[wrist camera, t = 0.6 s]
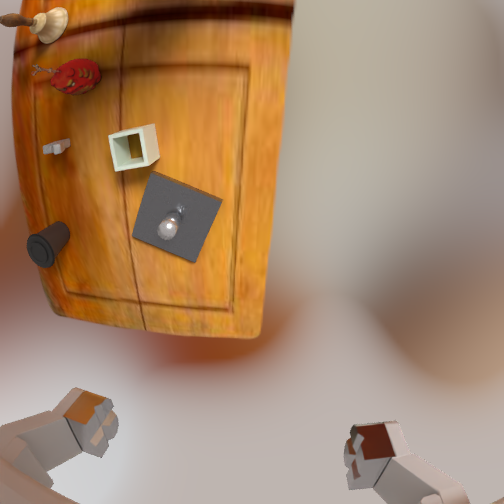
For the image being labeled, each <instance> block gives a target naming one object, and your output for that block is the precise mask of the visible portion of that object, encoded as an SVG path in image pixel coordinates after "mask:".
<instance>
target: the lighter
mask: <svg viewBox="0 0 504 504" xmlns="http://www.w3.org/2000/svg"><path fill="white" fill-rule="evenodd" d="M70 146H71V145H70V139H69V138H68V139H63V140H59V141H55V142H52V143H50V144H47V145H44V146H43V152H44V154H48V153H53V152H54V154H59V153H62V152H63V151H64V150H65V148H68V147H70Z"/></svg>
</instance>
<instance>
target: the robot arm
mask: <svg viewBox="0 0 504 504" xmlns="http://www.w3.org/2000/svg"><path fill="white" fill-rule="evenodd" d="M113 407H114V406H113V403H112V400H111V399H109V398H106V397H103V396H100V395H97V394H94V393H91V392H88V391H85V390H82V389H79V388H73V389H72V390H71V391H70V392H69V393H68V394H67V395H66V396H65V397H64V398H63V400H62V401H61V402H60V403H59V404H58V405H57V406H56V407H55V409H53V411H52V412H51V411H46V412H43V413H40V414H37V415H34V416H31V417H27V418H24V419H21V420H18V421H15V422H12V423H8V424H5V425H2V426H1V427H0V504H79V503H77V502H75V501H73V500H71V499H69V498H66V497H65V496H63V495H61V494H59V493H57V492H55V491H54V490H52V489H50V488H51V487H52V485H53V484H54V483H53V480H52V479H51V478H50V476H49V475H48V473H47V471H49V470H51V469H53V468H55V467H56V466H58V465H60V464H62V463H64V462H66V461H67V460H69V459H71V458H73V457H75V456H76V455H78V454H80V453H82V451H84V452H86V453H89V454H92V455H95V456H97V457H100V458H102V456H103V455H104V453H105V451H106V450H107V448H108V447H109V444H108V440H110V439H112V438H114V437H115V435H116V433H117V429H118V426H119V425H118V418H117V415H116V414H115V413H114V412H113V411H112V408H113ZM350 435H351V438H350V439H348V440H347V441H346V445H345V449H344V462H345V466H346V467H348V468H349V471H348V473H347V481H348V488H349V490H355V489H364V488H373V489H374V490H375V491H376V492H377V493H378V494H379V495H380V496H381V497H382V498H383V500H384V501H386V503H387V504H470V502H469V499H468V497H467V494H466V492H465V490H464V487H463V485H462V484H461V483H459V482H458V481H456V480H454V479H453V478H451V477H450V476H448V475H447V474H445V473H443V472H442V471H440V470H439V469H437V468H436V467H434V466H433V465H431V464H430V463H428V462H427V461H425V460H424V459H422V458H421V457H419V456H418V455H416V454H411V453H410V450H409V448H408V445H407V443H406V440H405V438H404V435H403V433H402V430H401V428H400V425H399V423H398V422H397V421H388V422H378V423H367V424H355V425H353V426H352V428H351V430H350ZM491 504H504V497H503V498H501V499H499V500H497V501H495V502H493V503H491Z"/></svg>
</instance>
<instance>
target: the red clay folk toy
mask: <svg viewBox="0 0 504 504" xmlns="http://www.w3.org/2000/svg"><path fill="white" fill-rule="evenodd" d="M36 65H37V64H36ZM32 66H33V67H35V68H36V70H37V71H36V72H35V71H33V72H31V75H33V76H34V75H36V73H37V72H39V71H40V72H41V71H48V73H50V72H53V73H55V74H54V76H53V78H52V79H51V81H50V82H51V85H52V86H54V87H55V88H56V89H57V90H59V91H61V92H63V93H65V94H71V95H79V94H84V93H86V92H87V91H88V90H91V89H94V88H95V87H96V84H97V83H98V82H99V81H100V80H101V74H100V72H99V67H98V65H97V64H96V63H95V62H94V61H91V60H88V59H74V60H71V61H69V62H67V63H65V64H63V65H62V66H60V67H59V68H58V69H57V70H56V71H55V70H52V68H50V69H44V68H41V67H38V65H37V66H35V65H32Z"/></svg>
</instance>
